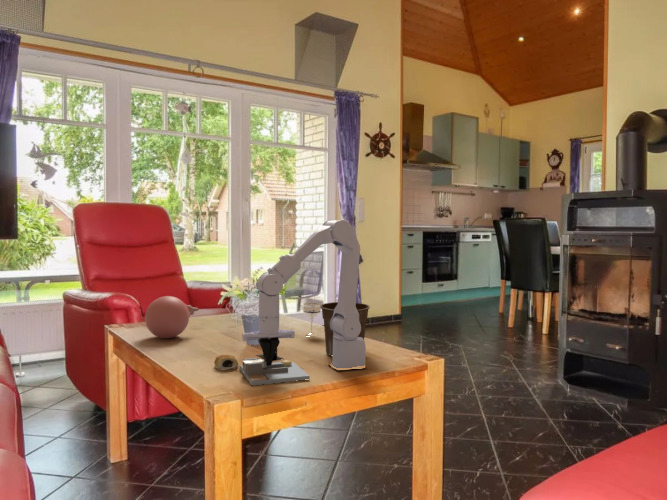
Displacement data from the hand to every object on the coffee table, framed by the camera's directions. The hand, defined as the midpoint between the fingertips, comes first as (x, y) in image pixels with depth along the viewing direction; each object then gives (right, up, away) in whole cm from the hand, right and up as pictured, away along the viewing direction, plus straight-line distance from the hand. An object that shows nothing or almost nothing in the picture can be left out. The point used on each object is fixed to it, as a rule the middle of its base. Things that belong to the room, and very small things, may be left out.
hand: (268, 364), depth 148 cm
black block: (-2, -3, +20) cm, 20 cm away
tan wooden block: (-4, -2, -1) cm, 4 cm away
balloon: (-41, 0, +47) cm, 62 cm away
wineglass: (+10, -1, +54) cm, 55 cm away
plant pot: (+22, -2, +26) cm, 34 cm away
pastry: (-14, -3, +8) cm, 16 cm away
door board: (+1, -3, +1) cm, 3 cm away
